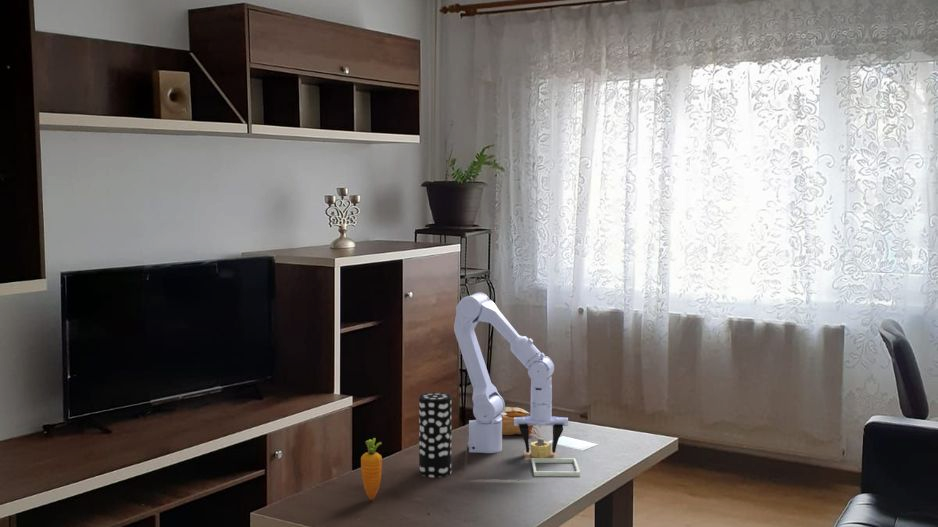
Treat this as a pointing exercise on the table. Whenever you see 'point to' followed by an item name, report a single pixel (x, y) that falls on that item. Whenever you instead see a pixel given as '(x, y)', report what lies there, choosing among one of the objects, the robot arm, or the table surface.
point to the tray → (555, 473)
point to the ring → (540, 450)
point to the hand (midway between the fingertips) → (540, 451)
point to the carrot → (371, 469)
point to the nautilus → (508, 421)
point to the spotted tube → (435, 434)
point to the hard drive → (574, 443)
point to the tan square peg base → (540, 443)
